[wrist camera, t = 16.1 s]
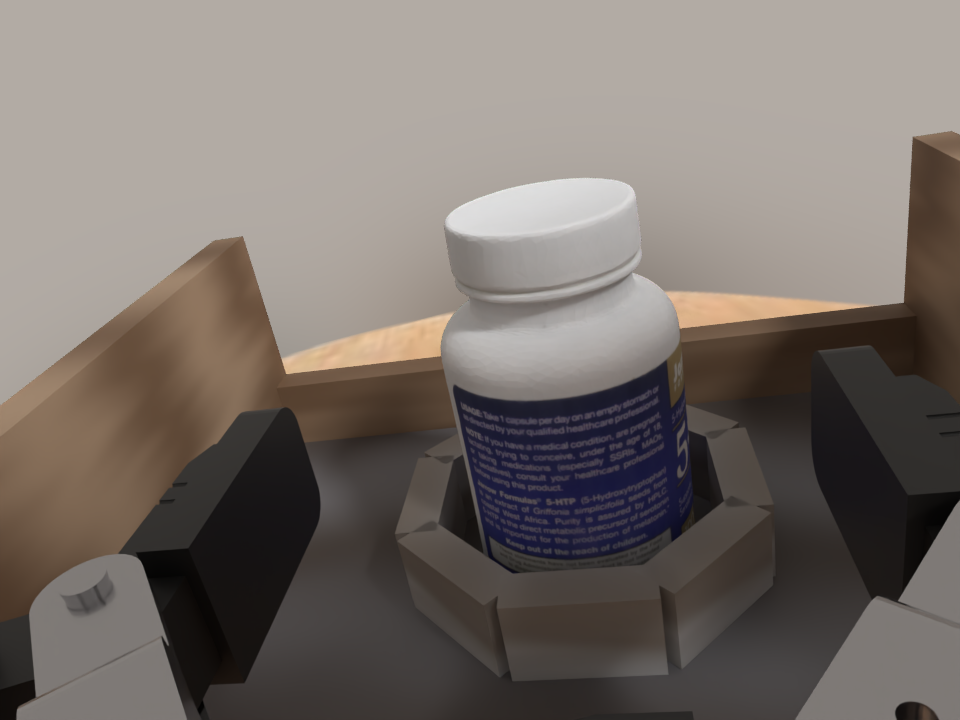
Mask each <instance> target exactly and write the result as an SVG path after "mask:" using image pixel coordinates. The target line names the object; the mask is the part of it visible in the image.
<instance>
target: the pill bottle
mask: <svg viewBox="0 0 960 720" xmlns="http://www.w3.org/2000/svg"><path fill="white" fill-rule="evenodd" d="M444 230H445V236H446V242H447V248H448V254H449V260H450V265H451V270H452V273H453V275H454V276H455V283H456V287H457V288H458V289H459V291H460V292H462V293H463V294H465V295H466V296H469V300H468V301H466V302H465V303H464V304H463V305H461V306H460V307H459V309H458V310H457V311H456V312H455V313H454V314H453V316H452V317H451V319H450V320H449V322H448V323H447V326H446V328H445V330H444V333H443V336H442V341H441V357H442V363H443V368H444V373H445V377H446V382H447V386H448V390H449V394H450V399H451V403H452V408H453V412H454V417H455V421H456V426H457V430H458V434H459V438H460V443H461V447H462V451H463V456H464V460H465V465H466V469H467V474H468V478H469V483H470V488H471V493H472V497H473V502H474V507H475V512H476V516H477V521H478V526H479V532H480V537H481V542H482V547H483V552H484V555H485V556H487V557H488V558H490V559H491V560H493V561H494V562H496V563H497V564H499V565H500V566H502V567H503V568H505V569H506V570H508V571H509V572H511V573H512V574H515V573H530V572H545V571H560V570H575V569H589V568H604V567H619V566H634V565H644V564H645V563H646V562H648V561H649V560H650V559H651V558H653V557H654V556H655V555H656V554H658V553H659V552H660V551H662V550H663V549H664V548H665V547H667V546H668V545H669V544H670V543H672V542H673V541H674V540H675V539H677V538H678V537H679V536H681V535H682V534H683V533H684V532H686V531H687V530H688V529H689V528H691V527H692V526H693V525H694V524H695V513H694V500H693V488H692V476H691V463H690V449H689V435H688V424H687V412H686V397H685V385H684V373H683V361H682V348H681V336H680V329H679V322H678V318H677V314H676V310H675V308H674V306H673V304H672V302H671V300H670V299H669V297H668V296H667V294H666V293H665V292H664V291H663V290H662V289H661V288H660V287H659V286H658V285H656V284H655V283H653V282H652V281H650V280H649V279H647V278H644V277H642V276H640V275H637V274H634V273H632V271H634V270H635V268H636V267H637V266H638V265H639V263H640V261H641V258H642V252H641V248H640V246H641V241H642V239H641V233H640V225H639V218H638V210H637V201H636V195H635V192H634V190H633V188H632V187H630V186H629V185H628V184H626V183H624V182H620V181H616V180H610V179H597V178H575V179H561V180H553V181H546V182H539V183H533V184H528V185H522V186H518V187H513V188H509V189H505V190H501V191H498V192H495V193H492V194H489V195H486V196H483V197H480V198H477V199H475V200H472V201H470V202H468V203H466V204H464V205H462V206H460V207H458V208H457V209H455V210H454V211H452V212H451V213H450V214H449V215H448V217H447V218H446V220H445V223H444Z"/></svg>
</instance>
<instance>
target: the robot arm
mask: <svg viewBox="0 0 960 720" xmlns="http://www.w3.org/2000/svg"><path fill="white" fill-rule="evenodd" d="M811 447H812V458H813V464H814V470H815V474H816V478H817V481H818V484H819V487H820V489H821V491H822V493H823V495H824V498H825V500H826V502H827V504H828V506H829V508H830V511H831V513H832V515H833V517H834V519H835V521H836V524H837V526H838V528H839V530H840V532H841V534H842V537H843V539H844V541H845V543H846V545H847V547H848V549H849V552H850V554H851V556H852V558H853V560H854V562H855V565H856V567H857V569H858V571H859V573H860V575H861V578H862V580H863V582H864V584H865V586H866V588H867V591H868V593H869V595H870V597H871V599H872V601H871V602H870V603H869V605H868V606H867V608H866V609H865V611H864V612H863V614H862V615H861V617H860V618H859V620H858V622H857V623H856V625H855V626H854V628H853V629H852V631H851V633H850V634H849V636H848V637H847V639H846V640H845V642H844V644H843V645H842V647H841V648H840V650H839V651H838V653H837V655H836V656H835V658H834V659H833V661H832V662H831V664H830V666H829V667H828V669H827V670H826V672H825V673H824V675H823V677H822V678H821V680H820V681H819V683H818V684H817V686H816V688H815V689H814V691H813V692H812V694H811V695H810V697H809V698H808V700H807V702H806V703H805V705H804V706H803V708H802V709H801V711H800V713H799V714H798V716H797V717H796V719H795V720H960V405H959V404H958V403H957V402H956V400H955V399H954V398H953V397H952V396H951V395H950V393H949V392H948V391H946V390H945V389H943V388H941V387H939V386H937V385H935V384H933V383H931V382H929V381H927V380H925V379H923V378H921V377H919V376H917V375H907V376H897V377H896V376H895V375H894V374H893V373H892V371H891V370H890V369H889V367H888V366H887V365H886V363H885V362H884V361H883V360H882V358H881V357H880V356H879V354H878V353H877V352H876V350H875V349H874V348H873V347H872V346H870V345H867V346H857V347H848V348H839V349H829V350H820V351H815V352H814V354H813V356H812V363H811ZM320 510H321V501H320V492H319V487H318V484H317V481H316V477H315V474H314V471H313V468H312V465H311V462H310V459H309V455H308V452H307V449H306V446H305V443H304V440H303V437H302V433H301V430H300V427H299V424H298V421H297V418H296V416H295V414H294V413H293V411H292V410H291V409H289V408H287V407H282V408H273V409H264V410H254V411H245V412H242V413H240V414H239V415H238V416H237V418H236V419H235V420H234V422H233V423H232V424H231V426H230V427H229V428H228V430H227V431H226V432H225V434H224V435H223V436H222V438H221V439H220V440H219V442H218V443H217V444H213V445H212V446H211V447H209V448H208V449H207V450H205V451H204V452H202V453H201V454H200V455H198V456H197V457H196V458H194V459H193V460H192V461H190V462H189V463H188V464H187V465H186V466H185V468H184V469H183V470H182V472H181V473H180V474H179V475H178V477H177V478H176V479H175V481H174V482H173V483H172V488H168V490H167V491H166V492H165V493H164V495H163V496H162V497H161V499H160V500H159V505H155V506H154V508H153V509H152V510H151V512H150V513H149V514H148V515H147V517H146V518H145V519H144V521H143V522H142V523H141V524H140V526H139V527H138V528H137V530H136V531H135V532H134V533H133V535H132V536H131V537H130V539H129V540H128V541H127V542H126V544H125V545H124V546H123V548H122V549H121V550H120V551H119V553H118V554H113V555H106V556H102V557H98V558H95V559H91V560H89V561H86V562H84V563H81V564H79V565H77V566H75V567H73V568H71V569H70V570H68V571H66V572H64V573H63V574H61V575H60V576H59V577H57V578H56V579H54V580H53V581H52V582H51V583H49V584H48V585H47V586H46V587H45V588H44V589H43V590H42V591H41V592H40V593H39V595H38V596H37V597H36V598H35V600H34V602H33V604H32V606H31V608H30V613H29V614H27V615H24V616H21V617H17V618H14V619H10V620H7V621H3V622H0V720H212V717H211V715H210V712H209V710H208V708H207V706H206V703H205V701H204V699H203V698H204V696H205V694H206V692H207V690H208V688H209V686H210V685H219V684H242V683H245V682H246V679H247V677H248V675H249V673H250V671H251V669H252V666H253V664H254V662H255V660H256V658H257V656H258V653H259V651H260V649H261V647H262V645H263V643H264V640H265V638H266V636H267V634H268V632H269V630H270V627H271V625H272V623H273V621H274V619H275V617H276V614H277V612H278V610H279V608H280V606H281V604H282V601H283V599H284V597H285V595H286V593H287V591H288V588H289V586H290V584H291V582H292V580H293V577H294V575H295V573H296V571H297V569H298V567H299V564H300V562H301V560H302V558H303V556H304V554H305V551H306V549H307V547H308V545H309V543H310V541H311V538H312V536H313V534H314V532H315V530H316V528H317V525H318V522H319V518H320ZM576 720H694V718H693V711H681V712H651V713H622V714H595V715H591V716H587V717H583V718H579V719H576Z"/></svg>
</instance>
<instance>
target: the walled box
mask: <svg viewBox="0 0 960 720" xmlns="http://www.w3.org/2000/svg"><path fill="white" fill-rule="evenodd" d="M680 336H681V348H682V361H683V373H684V385H685V397H686V412H687V424H688V435H689V449H690V463H691V476H692V488H693V500H694V513H695V524H694V525H693V526H692V527H691V528H689V529H688V530H687V531H686V532H684V533H683V534H682V535H681V536H679V537H678V538H677V539H675V540H674V541H673V542H672V543H670V544H669V545H668V546H667V547H665V548H664V549H663V550H662V551H660V552H659V553H658V554H656V555H655V556H654V557H653V558H651V559H650V560H649V561H648V562H646V563H645V564H644V565H634V566H619V567H604V568H589V569H575V570H560V571H545V572H530V573H515V574H512V573H511V572H509V571H508V570H506V569H505V568H503V567H502V566H500V565H499V564H497V563H496V562H494V561H493V560H491V559H490V558H488V557H487V556H485V555H484V552H483V547H482V542H481V537H480V532H479V526H478V521H477V516H476V512H475V507H474V502H473V497H472V493H471V488H470V483H469V478H468V474H467V469H466V465H465V460H464V456H463V451H462V447H461V443H460V438H459V434H458V430H457V426H456V421H455V417H454V412H453V408H452V403H451V399H450V394H449V390H448V386H447V382H446V377H445V373H444V368H443V363H442V357H441V356H440V357H432V358H423V359H414V360H406V361H397V362H389V363H380V364H371V365H363V366H354V367H345V368H337V369H328V370H319V371H311V372H302V373H293V374H286V372H285V369H284V366H283V363H282V360H281V357H280V353H279V350H278V347H277V344H276V341H275V337H274V334H273V331H272V328H271V325H270V322H269V318H268V315H267V312H266V309H265V306H264V302H263V299H262V296H261V293H260V290H259V286H258V283H257V280H256V277H255V274H254V270H253V267H252V264H251V261H250V258H249V254H248V251H247V248H246V245H245V242H244V239H243V237H236V238H229V239H222V240H215V241H213V242H212V243H210V244H209V245H208V246H206V247H205V248H204V249H203V250H201V251H200V252H199V253H197V254H196V255H195V256H193V257H192V258H191V259H190V260H188V261H187V262H186V263H184V264H183V265H182V266H180V267H179V268H178V269H177V270H175V271H174V272H173V273H171V274H170V275H169V276H168V277H166V278H165V279H164V280H162V281H161V282H160V283H158V284H157V285H156V286H155V287H153V288H152V289H151V290H149V291H148V292H147V293H146V294H144V295H143V296H142V297H140V298H139V299H138V300H137V301H135V302H134V303H133V304H131V305H130V306H129V307H127V308H126V309H125V310H124V311H122V312H121V313H120V314H118V315H117V316H116V317H114V318H113V319H112V320H111V321H109V322H108V323H107V324H105V325H104V326H103V327H101V328H100V329H99V330H98V331H96V332H95V333H94V334H92V335H91V336H90V337H89V338H87V339H86V340H85V341H83V342H82V343H81V344H79V345H78V346H77V347H76V348H74V349H73V350H72V351H70V352H69V353H68V354H67V355H65V356H64V357H63V358H61V359H60V360H59V361H57V362H56V363H55V364H54V365H52V366H51V367H50V368H48V369H47V370H46V371H45V372H43V373H42V374H41V375H39V376H38V377H37V378H36V379H34V380H33V381H32V382H30V383H29V384H28V385H26V386H25V387H24V388H23V389H21V390H20V391H19V392H17V393H16V394H15V395H13V396H12V397H11V398H10V399H8V400H7V401H6V402H4V403H3V404H2V405H0V622H3V621H7V620H10V619H14V618H17V617H21V616H24V615H27V614H29V613H30V608H31V606H32V604H33V602H34V600H35V598H36V597H37V596H38V595H39V593H40V592H41V591H42V590H43V589H44V588H45V587H46V586H47V585H48V584H49V583H51V582H52V581H53V580H54V579H56V578H57V577H59V576H60V575H61V574H63V573H64V572H66V571H68V570H70V569H71V568H73V567H75V566H77V565H79V564H81V563H84V562H86V561H89V560H91V559H95V558H98V557H102V556H106V555H113V554H118V553H119V551H120V550H121V549H122V548H123V546H124V545H125V544H126V542H127V541H128V540H129V539H130V537H131V536H132V535H133V533H134V532H135V531H136V530H137V528H138V527H139V526H140V524H141V523H142V522H143V521H144V519H145V518H146V517H147V515H148V514H149V513H150V512H151V510H152V509H153V508H154V506H155V505H159V500H160V499H161V497H162V496H163V495H164V493H165V492H166V491H167V490H168V488H172V483H173V482H174V481H175V479H176V478H177V477H178V475H179V474H180V473H181V472H182V470H183V469H184V468H185V466H186V465H187V464H188V463H189V462H190V461H192V460H193V459H194V458H196V457H197V456H198V455H200V454H201V453H202V452H204V451H205V450H207V449H208V448H209V447H211V446H212V445H213V444H217V443H218V442H219V440H220V439H221V438H222V436H223V435H224V434H225V432H226V431H227V430H228V428H229V427H230V426H231V424H232V423H233V422H234V420H235V419H236V418H237V416H238V415H239V414H240V413H242V412H245V411H254V410H264V409H273V408H282V407H287V408H289V409H291V410H292V411H293V413H294V414H295V416H296V418H297V421H298V424H299V427H300V430H301V433H302V437H303V440H304V443H305V446H306V449H307V452H308V455H309V459H310V462H311V465H312V468H313V471H314V474H315V477H316V481H317V484H318V487H319V492H320V501H321V510H320V518H319V522H318V525H317V528H316V530H315V532H314V534H313V536H312V538H311V541H310V543H309V545H308V547H307V549H306V551H305V554H304V556H303V558H302V560H301V562H300V564H299V567H298V569H297V571H296V573H295V575H294V577H293V580H292V582H291V584H290V586H289V588H288V591H287V593H286V595H285V597H284V599H283V601H282V604H281V606H280V608H279V610H278V612H277V614H276V617H275V619H274V621H273V623H272V625H271V627H270V630H269V632H268V634H267V636H266V638H265V640H264V643H263V645H262V647H261V649H260V651H259V653H258V656H257V658H256V660H255V662H254V664H253V666H252V669H251V671H250V673H249V675H248V677H247V679H246V682H245V683H242V684H219V685H210V686H209V688H208V690H207V692H206V694H205V696H204V698H203V699H204V701H205V703H206V706H207V708H208V710H209V712H210V715H211V717H212V720H576V719H579V718H583V717H587V716H591V715H595V714H622V713H651V712H681V711H693V718H694V720H795V719H796V717H797V716H798V714H799V713H800V711H801V709H802V708H803V706H804V705H805V703H806V702H807V700H808V698H809V697H810V695H811V694H812V692H813V691H814V689H815V688H816V686H817V684H818V683H819V681H820V680H821V678H822V677H823V675H824V673H825V672H826V670H827V669H828V667H829V666H830V664H831V662H832V661H833V659H834V658H835V656H836V655H837V653H838V651H839V650H840V648H841V647H842V645H843V644H844V642H845V640H846V639H847V637H848V636H849V634H850V633H851V631H852V629H853V628H854V626H855V625H856V623H857V622H858V620H859V618H860V617H861V615H862V614H863V612H864V611H865V609H866V608H867V606H868V605H869V603H870V602H871V601H872V599H871V597H870V595H869V593H868V591H867V588H866V586H865V584H864V582H863V580H862V578H861V575H860V573H859V571H858V569H857V567H856V565H855V562H854V560H853V558H852V556H851V554H850V552H849V549H848V547H847V545H846V543H845V541H844V539H843V537H842V534H841V532H840V530H839V528H838V526H837V524H836V521H835V519H834V517H833V515H832V513H831V511H830V508H829V506H828V504H827V502H826V500H825V498H824V495H823V493H822V491H821V489H820V487H819V484H818V481H817V478H816V474H815V470H814V464H813V458H812V447H811V363H812V356H813V354H814V352H815V351H820V350H829V349H839V348H848V347H857V346H867V345H870V346H872V347H873V348H874V349H875V350H876V352H877V353H878V354H879V356H880V357H881V358H882V360H883V361H884V362H885V363H886V365H887V366H888V367H889V369H890V370H891V371H892V373H893V374H894V375H895V376H896V377H897V376H907V375H917V376H919V377H921V378H923V379H925V380H927V381H929V382H931V383H933V384H935V385H937V386H939V387H941V388H943V389H945V390H946V391H948V392H949V393H950V395H951V396H952V397H953V398H954V399H955V400H956V402H957V403H958V404H959V405H960V135H959V134H957V133H955V132H952V131H950V132H943V133H937V134H930V135H923V136H916V137H913V145H912V163H911V181H910V200H909V218H908V238H907V256H906V274H905V293H904V303H899V304H890V305H881V306H873V307H864V308H855V309H847V310H838V311H829V312H821V313H812V314H803V315H795V316H786V317H778V318H769V319H760V320H752V321H743V322H734V323H726V324H717V325H708V326H700V327H691V328H682V329H680Z"/></svg>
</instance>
